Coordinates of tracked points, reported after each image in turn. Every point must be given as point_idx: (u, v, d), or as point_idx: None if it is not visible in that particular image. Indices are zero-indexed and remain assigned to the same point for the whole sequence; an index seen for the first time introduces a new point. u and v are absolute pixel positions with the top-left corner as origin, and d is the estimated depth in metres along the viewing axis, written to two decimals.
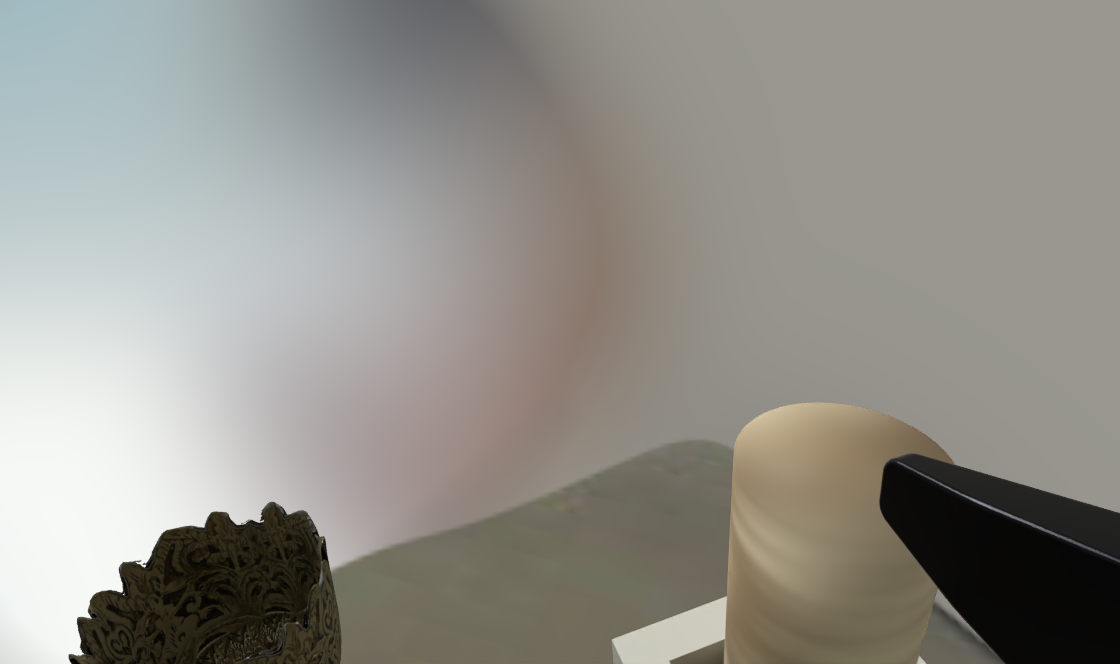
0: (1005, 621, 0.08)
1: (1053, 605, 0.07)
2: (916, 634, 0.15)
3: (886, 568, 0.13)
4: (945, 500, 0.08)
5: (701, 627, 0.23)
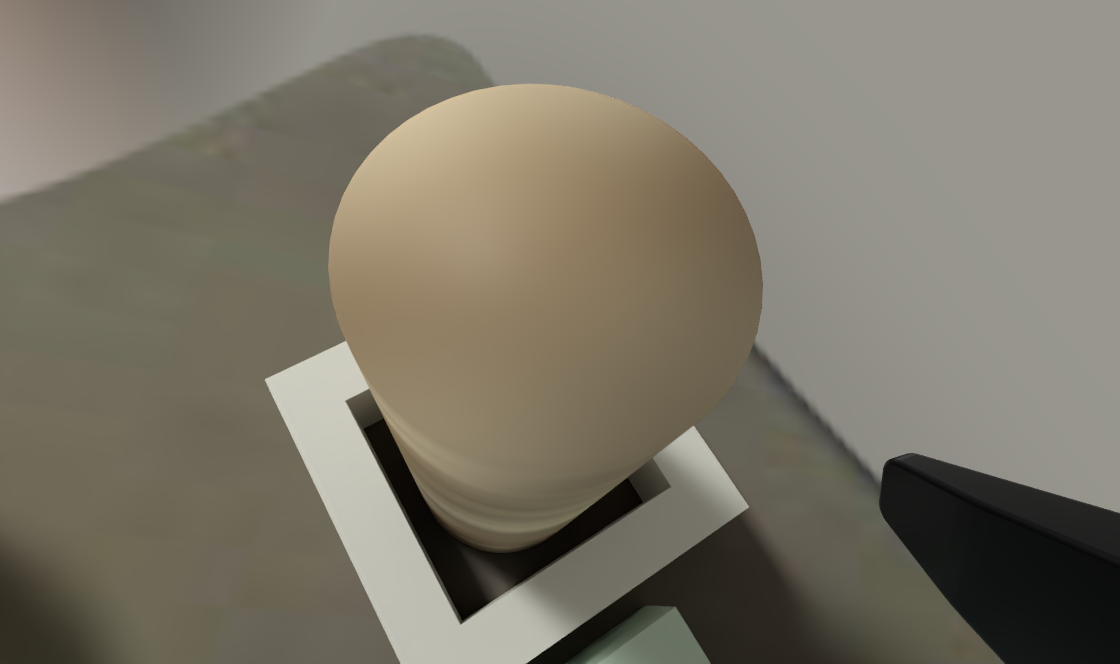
0: (1005, 621, 0.08)
1: (1053, 605, 0.07)
2: None
3: (599, 476, 0.07)
4: (945, 500, 0.08)
5: None
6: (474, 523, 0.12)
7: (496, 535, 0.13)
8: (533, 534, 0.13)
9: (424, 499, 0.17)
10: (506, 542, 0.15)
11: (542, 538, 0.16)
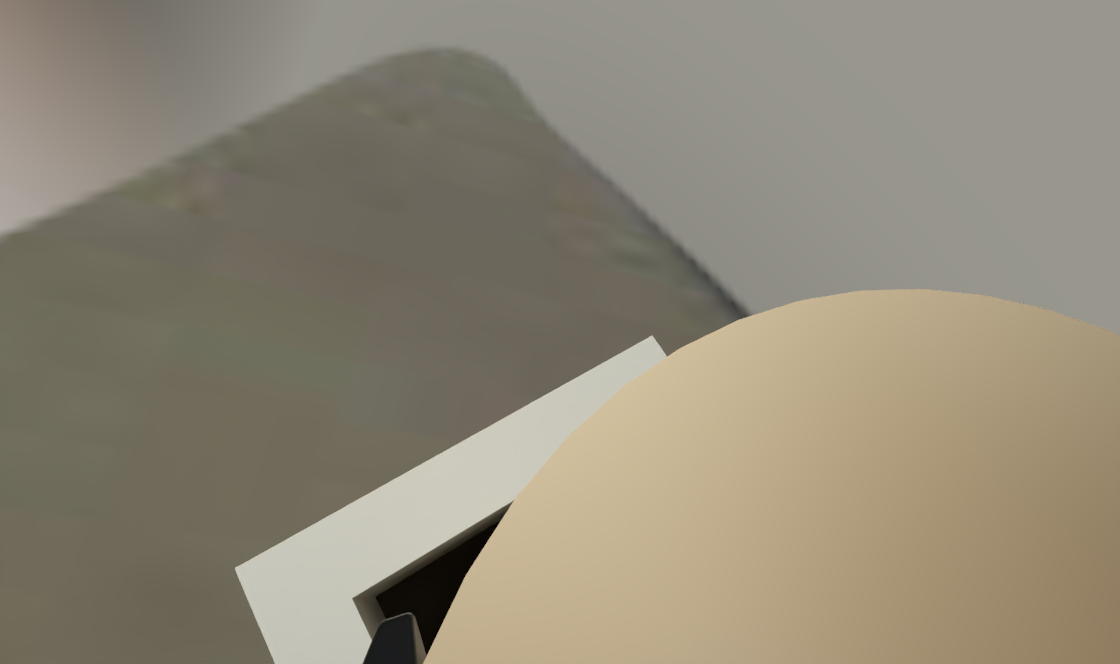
0: None
1: None
2: None
3: None
4: None
5: (418, 512, 0.12)
6: None
7: None
8: None
9: None
10: None
11: None
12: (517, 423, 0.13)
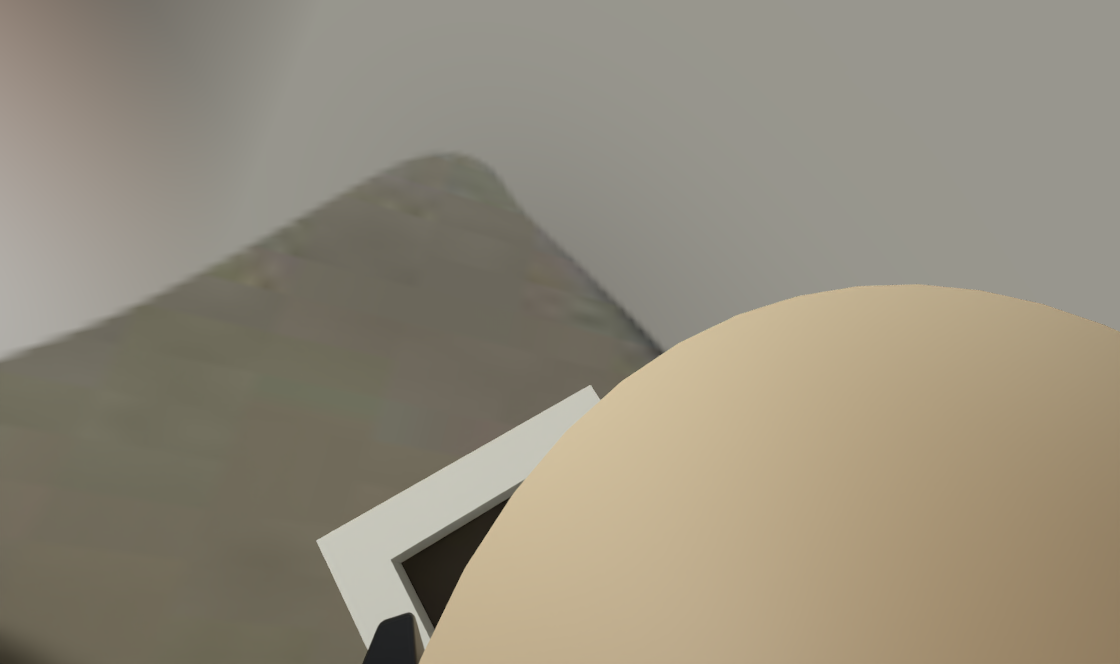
0: None
1: None
2: None
3: None
4: None
5: (432, 505, 0.18)
6: None
7: None
8: None
9: None
10: None
11: None
12: (497, 446, 0.19)
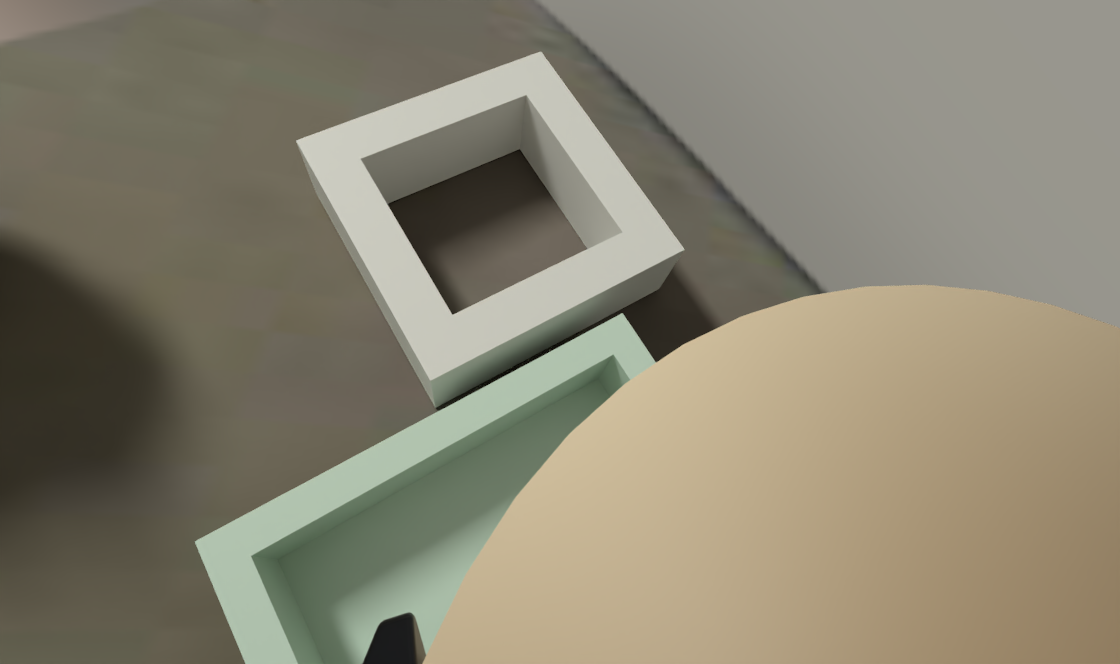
0: None
1: None
2: None
3: None
4: None
5: (398, 124, 0.21)
6: None
7: None
8: None
9: None
10: None
11: None
12: (456, 87, 0.22)
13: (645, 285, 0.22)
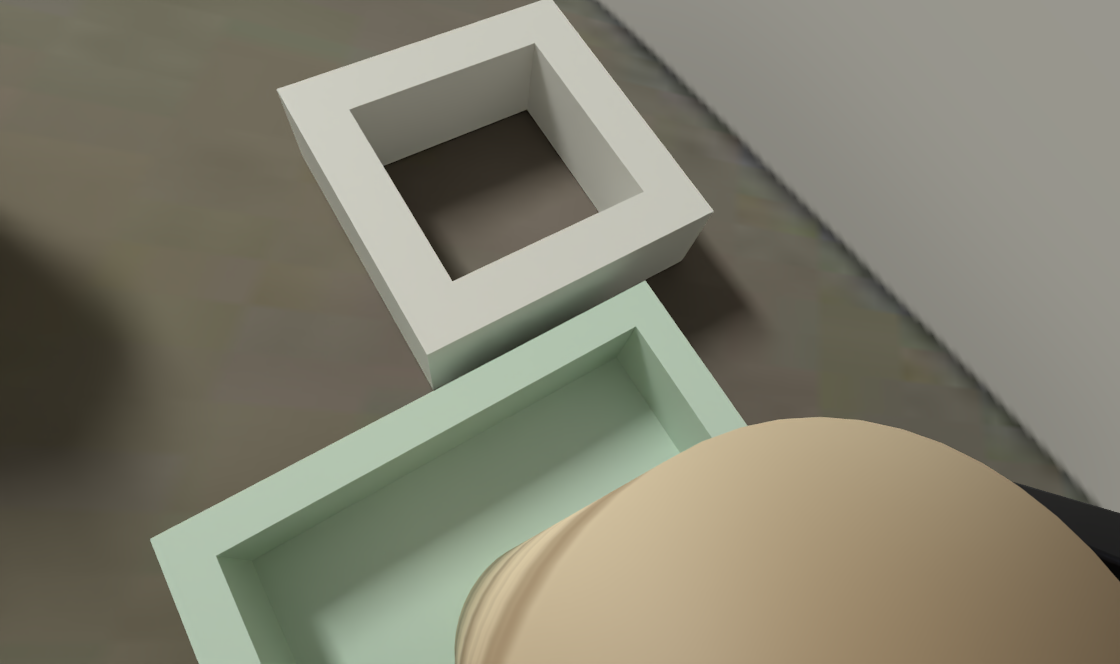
0: None
1: None
2: None
3: None
4: None
5: (391, 72, 0.19)
6: None
7: None
8: None
9: None
10: None
11: None
12: (457, 34, 0.20)
13: (668, 254, 0.20)
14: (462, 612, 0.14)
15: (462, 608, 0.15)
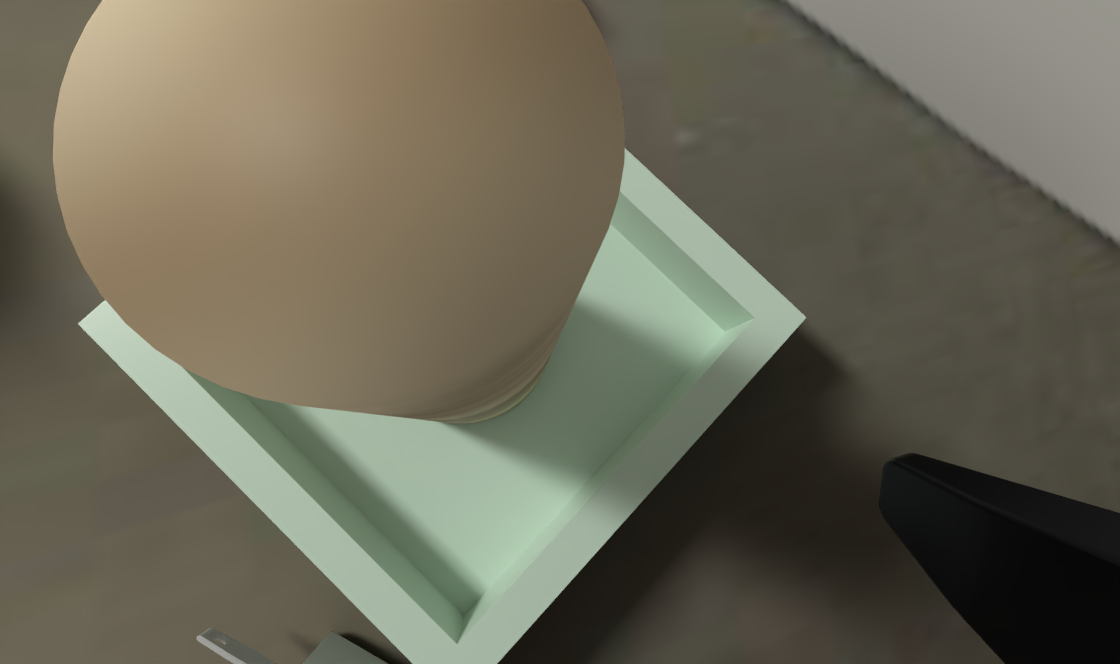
0: (1005, 621, 0.08)
1: (1053, 605, 0.07)
2: (561, 329, 0.09)
3: (484, 378, 0.06)
4: (945, 500, 0.08)
5: None
6: (424, 419, 0.12)
7: None
8: (494, 408, 0.13)
9: None
10: (476, 418, 0.14)
11: (514, 402, 0.15)
12: None
13: None
14: None
15: None
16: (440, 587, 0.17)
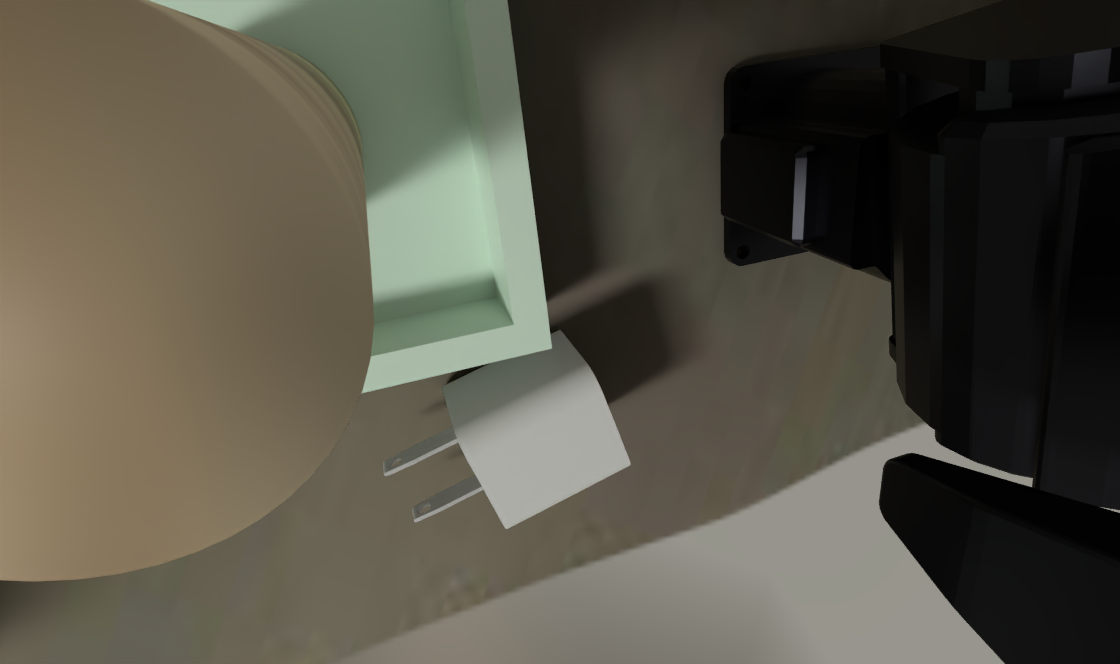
0: (1005, 621, 0.08)
1: (1053, 605, 0.07)
2: (345, 143, 0.08)
3: None
4: (945, 500, 0.08)
5: None
6: None
7: None
8: None
9: None
10: None
11: None
12: None
13: None
14: None
15: None
16: (465, 302, 0.20)
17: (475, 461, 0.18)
